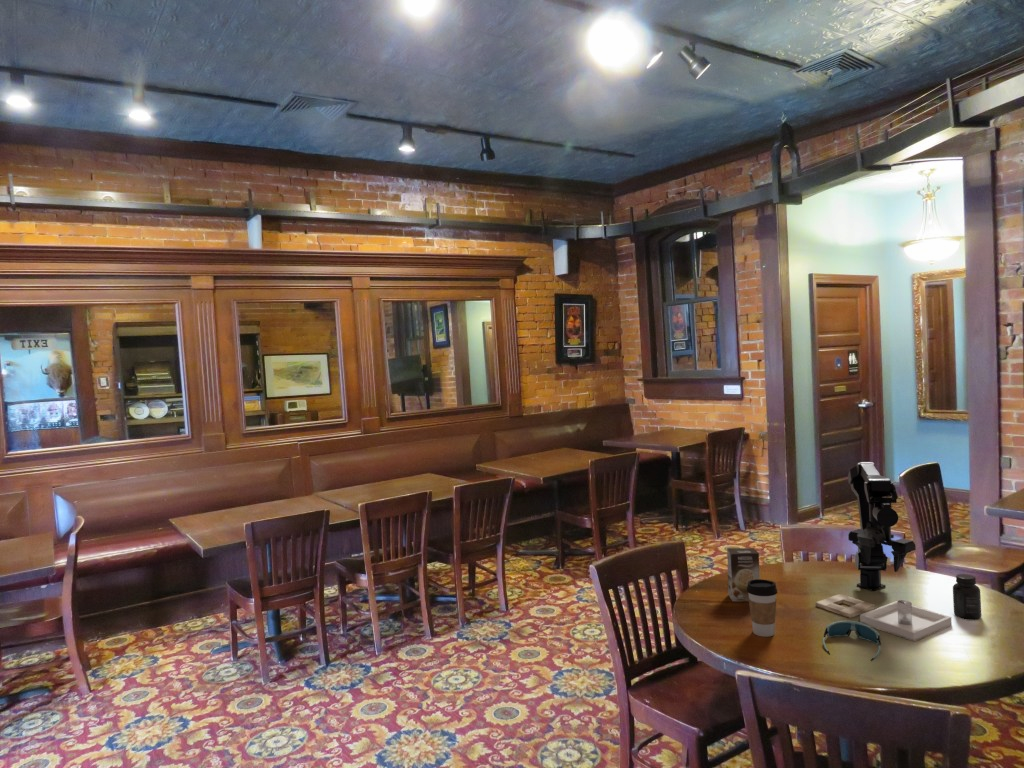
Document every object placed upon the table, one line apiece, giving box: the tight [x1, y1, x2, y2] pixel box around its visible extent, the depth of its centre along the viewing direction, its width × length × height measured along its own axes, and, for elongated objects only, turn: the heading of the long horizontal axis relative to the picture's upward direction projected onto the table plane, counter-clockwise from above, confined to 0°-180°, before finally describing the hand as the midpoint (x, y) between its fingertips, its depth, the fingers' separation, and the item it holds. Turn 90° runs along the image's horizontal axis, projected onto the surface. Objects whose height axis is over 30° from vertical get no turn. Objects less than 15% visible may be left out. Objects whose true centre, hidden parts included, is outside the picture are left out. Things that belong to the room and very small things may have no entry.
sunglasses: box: [822, 620, 882, 662], centre depth 187 cm, size 14×15×5 cm
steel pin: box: [896, 599, 913, 625], centre depth 199 cm, size 4×4×6 cm
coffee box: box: [726, 547, 761, 602], centre depth 226 cm, size 9×6×16 cm
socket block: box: [815, 593, 876, 619], centre depth 214 cm, size 12×12×1 cm
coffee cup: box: [747, 578, 778, 638], centre depth 199 cm, size 8×8×15 cm
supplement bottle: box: [952, 573, 982, 621], centre depth 202 cm, size 7×7×12 cm
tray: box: [859, 600, 953, 642], centre depth 199 cm, size 18×16×2 cm
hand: (881, 567), depth 213 cm, fingers open, 9 cm apart
